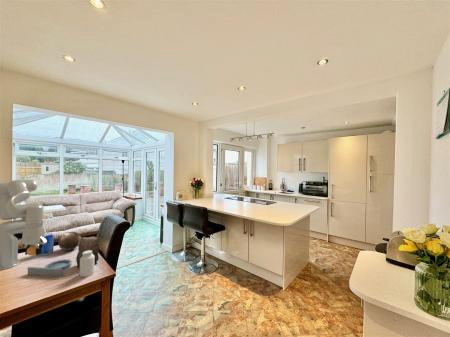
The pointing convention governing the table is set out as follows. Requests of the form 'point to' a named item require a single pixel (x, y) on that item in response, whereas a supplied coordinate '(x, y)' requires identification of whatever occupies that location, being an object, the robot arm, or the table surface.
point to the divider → (45, 271)
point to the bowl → (60, 264)
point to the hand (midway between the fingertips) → (33, 253)
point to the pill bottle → (87, 264)
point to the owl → (88, 248)
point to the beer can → (48, 244)
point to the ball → (32, 250)
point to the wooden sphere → (69, 241)
